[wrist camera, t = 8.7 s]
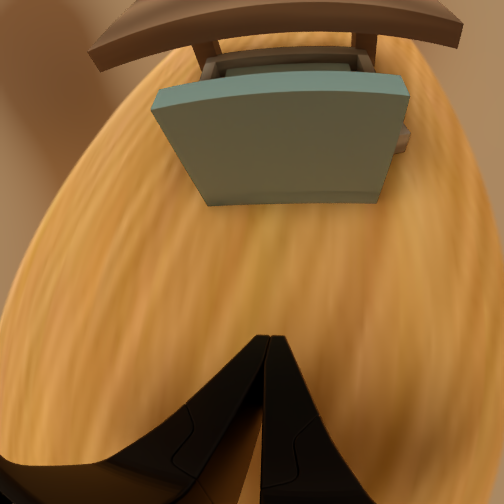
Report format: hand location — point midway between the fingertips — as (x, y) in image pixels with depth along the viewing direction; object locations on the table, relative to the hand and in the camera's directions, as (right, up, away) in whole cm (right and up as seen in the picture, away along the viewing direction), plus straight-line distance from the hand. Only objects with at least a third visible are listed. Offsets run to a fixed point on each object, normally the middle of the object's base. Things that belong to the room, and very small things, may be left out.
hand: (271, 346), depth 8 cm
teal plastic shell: (+2, +12, +13) cm, 18 cm away
